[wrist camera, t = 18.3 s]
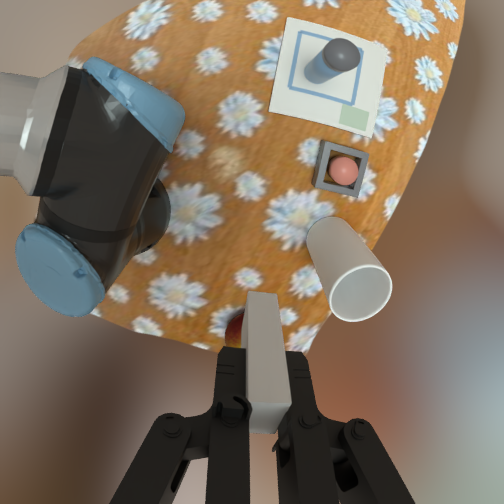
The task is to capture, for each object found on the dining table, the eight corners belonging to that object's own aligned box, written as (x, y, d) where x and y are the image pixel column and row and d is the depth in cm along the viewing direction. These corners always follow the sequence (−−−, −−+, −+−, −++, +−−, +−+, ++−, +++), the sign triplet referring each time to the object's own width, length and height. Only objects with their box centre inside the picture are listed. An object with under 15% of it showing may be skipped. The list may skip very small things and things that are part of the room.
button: (324, 178, 39) (329, 181, 36) (330, 152, 37) (335, 154, 35) (348, 184, 39) (354, 188, 37) (355, 159, 37) (361, 162, 35)
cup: (330, 206, 42) (367, 251, 28) (362, 236, 44) (403, 289, 30) (296, 242, 45) (315, 301, 30) (329, 269, 47) (356, 331, 33)
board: (268, 111, 35) (268, 111, 35) (286, 18, 28) (287, 16, 27) (369, 137, 37) (371, 138, 36) (385, 49, 29) (387, 48, 29)
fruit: (261, 297, 50) (262, 326, 43) (282, 328, 53) (286, 358, 46) (217, 316, 52) (212, 346, 45) (241, 344, 55) (239, 374, 48)
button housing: (311, 183, 40) (314, 187, 38) (321, 140, 37) (325, 141, 35) (352, 193, 41) (357, 197, 39) (363, 151, 38) (369, 153, 35)
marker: (302, 81, 32) (323, 65, 21) (304, 58, 31) (326, 34, 20) (327, 87, 33) (358, 74, 22) (330, 64, 31) (361, 44, 20)
